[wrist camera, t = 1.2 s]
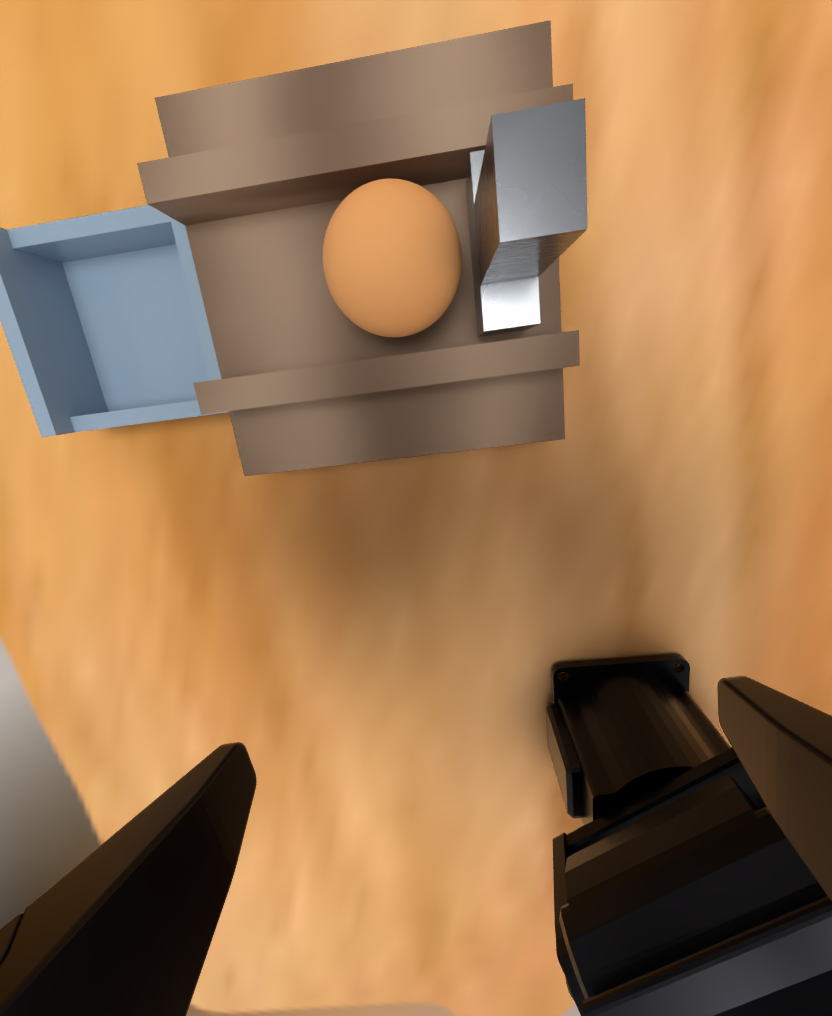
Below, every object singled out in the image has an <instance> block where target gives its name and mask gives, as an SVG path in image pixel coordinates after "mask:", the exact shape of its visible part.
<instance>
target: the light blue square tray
mask: <svg viewBox="0 0 832 1016" xmlns="http://www.w3.org/2000/svg"><path fill="white" fill-rule="evenodd" d="M0 321H1V324H2V327H3V330H4V332H5V335H6V338H7V341H8V344H9V346H10V349H11V352H12V355H13V358H14V360H15V363H16V366H17V369H18V372H19V375H20V377H21V380H22V383H23V386H24V389H25V391H26V394H27V397H28V400H29V403H30V405H31V408H32V411H33V414H34V417H35V419H36V422H37V425H38V428H39V431H40V433H41V436H42V437H46V436H54V435H60V434H67V433H73V432H80V431H88V430H96V429H103V428H111V427H119V426H126V425H134V424H142V423H150V422H157V421H165V420H173V419H180V418H188V417H196V416H203V415H211V414H219V413H227V412H229V411H226V412H218V413H211V414H203V415H201V412H200V408H199V404H198V400H197V396H196V392H195V389H194V385H193V383H197V382H204V381H211V380H219V379H221V375H220V370H219V366H218V362H217V358H216V354H215V349H214V345H213V341H212V337H211V332H210V328H209V324H208V320H207V316H206V311H205V307H204V303H203V299H202V295H201V290H200V286H199V282H198V278H197V273H196V269H195V265H194V261H193V257H192V252H191V248H190V244H189V240H188V236H187V231H186V227H185V225H183V224H181V223H180V222H178V221H176V220H174V219H173V218H171V217H169V216H168V215H166V214H164V213H162V212H161V211H159V210H157V209H155V208H154V207H152V206H150V205H146V206H140V207H134V208H129V209H123V210H117V211H112V212H106V213H100V214H94V215H89V216H83V217H77V218H71V219H66V220H60V221H54V222H48V223H43V224H37V225H31V226H25V227H20V228H14V229H8V230H6V229H3V228H0Z"/></svg>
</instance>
